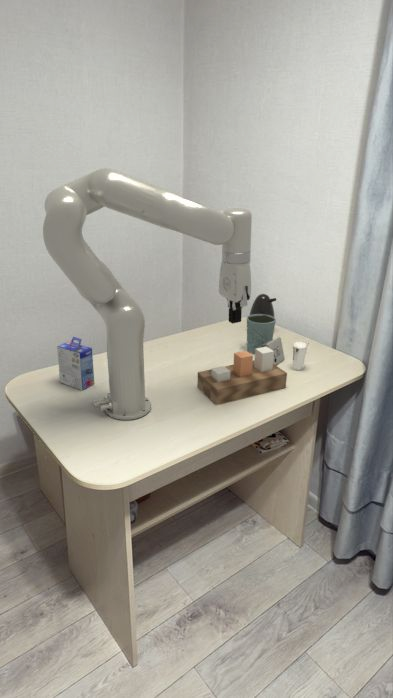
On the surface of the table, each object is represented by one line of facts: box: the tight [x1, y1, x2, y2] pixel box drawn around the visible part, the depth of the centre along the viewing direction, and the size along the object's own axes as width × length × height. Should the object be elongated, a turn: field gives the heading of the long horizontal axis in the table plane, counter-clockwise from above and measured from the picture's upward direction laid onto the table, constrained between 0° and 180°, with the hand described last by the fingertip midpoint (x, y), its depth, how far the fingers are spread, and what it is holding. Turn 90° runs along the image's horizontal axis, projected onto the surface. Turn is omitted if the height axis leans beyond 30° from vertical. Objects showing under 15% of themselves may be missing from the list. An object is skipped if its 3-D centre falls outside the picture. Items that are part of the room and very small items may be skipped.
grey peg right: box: [254, 347, 274, 372], centre depth 142 cm, size 4×4×6 cm
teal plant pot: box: [246, 314, 277, 355], centre depth 167 cm, size 10×10×12 cm
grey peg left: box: [211, 365, 230, 382], centre depth 138 cm, size 4×4×6 cm
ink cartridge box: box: [56, 336, 95, 391], centre depth 141 cm, size 10×6×14 cm, turn 58°
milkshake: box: [292, 341, 309, 371], centre depth 153 cm, size 4×5×10 cm
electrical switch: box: [261, 336, 285, 366], centre depth 158 cm, size 8×5×8 cm, turn 141°
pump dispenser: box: [249, 293, 277, 319], centre depth 183 cm, size 10×10×15 cm
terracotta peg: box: [233, 350, 254, 377], centre depth 139 cm, size 4×4×6 cm
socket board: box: [197, 359, 288, 406], centre depth 141 cm, size 24×12×5 cm, turn 117°
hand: (234, 321), depth 132 cm, fingers closed
